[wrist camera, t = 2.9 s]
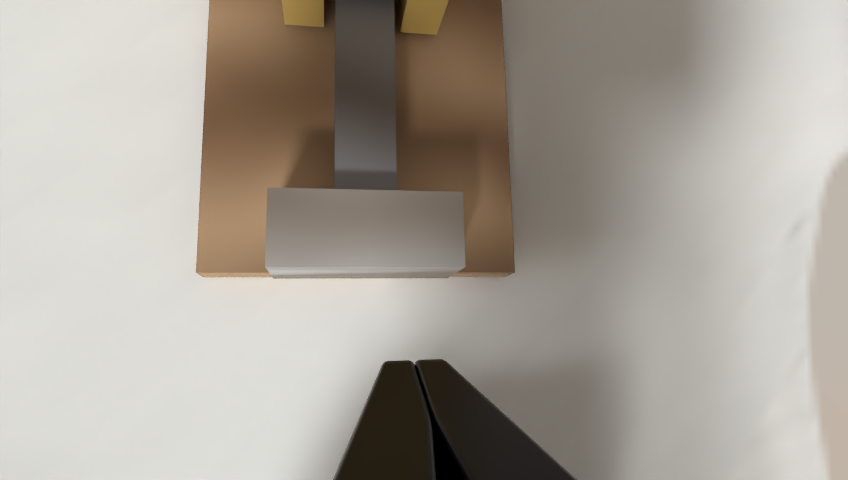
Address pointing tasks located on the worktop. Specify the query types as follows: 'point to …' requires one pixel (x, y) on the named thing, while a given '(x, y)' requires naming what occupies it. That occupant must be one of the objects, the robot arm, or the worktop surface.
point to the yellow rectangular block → (418, 14)
